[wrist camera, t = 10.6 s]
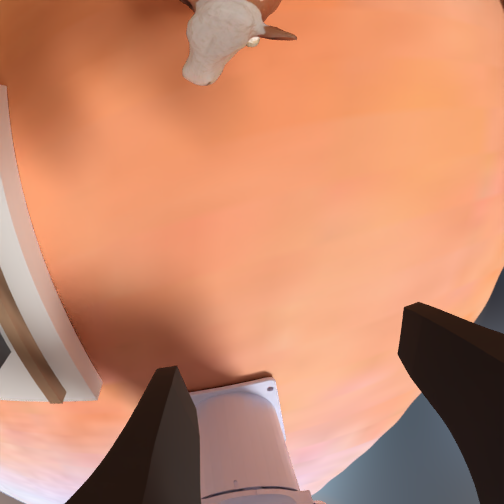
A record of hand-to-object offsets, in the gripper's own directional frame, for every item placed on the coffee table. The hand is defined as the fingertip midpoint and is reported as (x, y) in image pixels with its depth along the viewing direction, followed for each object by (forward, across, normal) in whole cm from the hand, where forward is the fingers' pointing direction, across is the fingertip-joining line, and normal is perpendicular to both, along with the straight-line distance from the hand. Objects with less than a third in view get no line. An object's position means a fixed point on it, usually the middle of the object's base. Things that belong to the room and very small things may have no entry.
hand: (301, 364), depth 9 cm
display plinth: (+10, +20, -3) cm, 23 cm away
